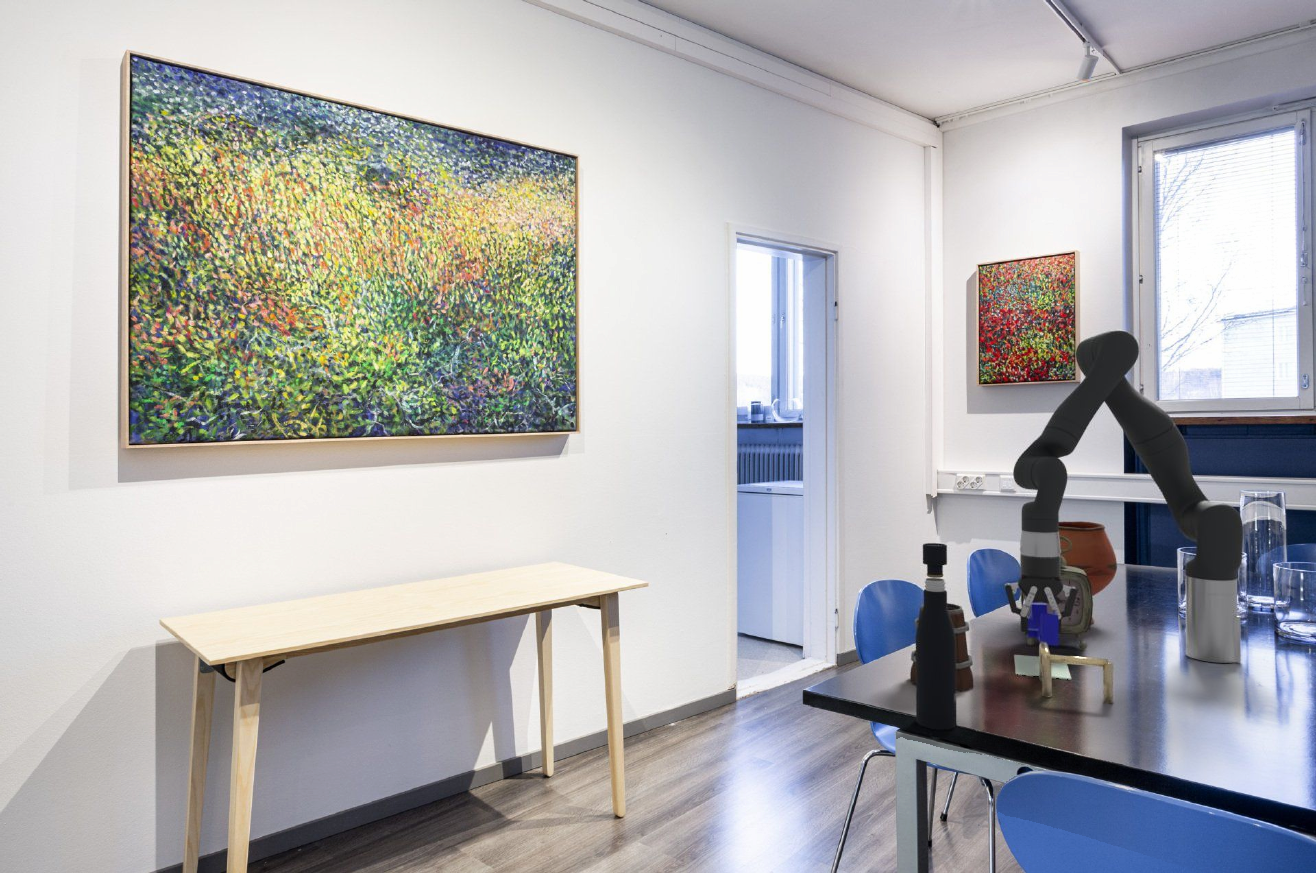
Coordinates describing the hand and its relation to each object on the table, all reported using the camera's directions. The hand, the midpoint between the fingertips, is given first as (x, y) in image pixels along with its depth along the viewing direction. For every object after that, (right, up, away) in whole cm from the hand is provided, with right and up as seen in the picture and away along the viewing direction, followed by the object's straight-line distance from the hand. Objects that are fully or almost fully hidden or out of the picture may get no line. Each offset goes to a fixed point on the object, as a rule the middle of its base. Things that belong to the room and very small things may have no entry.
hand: (1040, 634), depth 172 cm
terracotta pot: (+27, -6, +41) cm, 49 cm away
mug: (-23, -7, -8) cm, 25 cm away
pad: (0, -7, 0) cm, 7 cm away
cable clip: (0, -1, +1) cm, 1 cm away
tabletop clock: (+12, -7, +18) cm, 22 cm away
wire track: (-1, -7, -16) cm, 17 cm away
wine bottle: (-32, -7, -32) cm, 46 cm away
